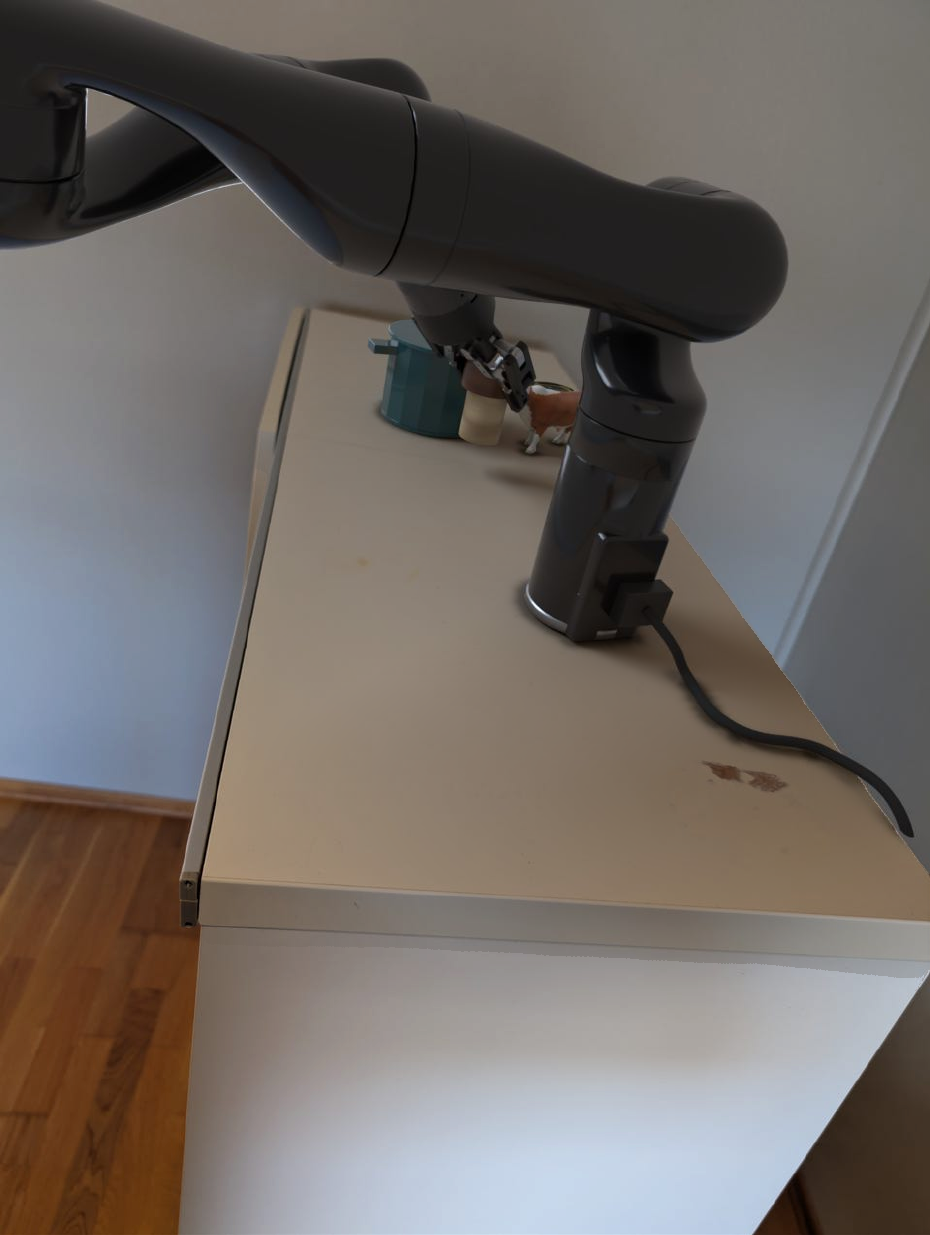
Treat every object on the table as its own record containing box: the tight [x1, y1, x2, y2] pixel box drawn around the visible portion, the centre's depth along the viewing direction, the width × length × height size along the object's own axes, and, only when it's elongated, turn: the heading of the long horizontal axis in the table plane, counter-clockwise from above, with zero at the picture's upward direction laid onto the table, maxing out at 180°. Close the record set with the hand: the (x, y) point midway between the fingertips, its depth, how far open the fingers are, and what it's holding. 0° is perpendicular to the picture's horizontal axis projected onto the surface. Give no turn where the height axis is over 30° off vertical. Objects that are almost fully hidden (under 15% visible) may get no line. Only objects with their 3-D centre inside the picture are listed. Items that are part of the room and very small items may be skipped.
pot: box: [367, 336, 499, 439], centre depth 103 cm, size 12×17×10 cm
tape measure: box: [530, 380, 575, 392], centre depth 115 cm, size 7×7×4 cm
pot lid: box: [387, 318, 447, 358], centre depth 99 cm, size 13×13×5 cm
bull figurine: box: [518, 385, 581, 455], centre depth 102 cm, size 4×13×8 cm, turn 115°
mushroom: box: [459, 354, 508, 446], centre depth 91 cm, size 6×6×8 cm
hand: (498, 394), depth 92 cm, fingers closed on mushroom, 6 cm apart
